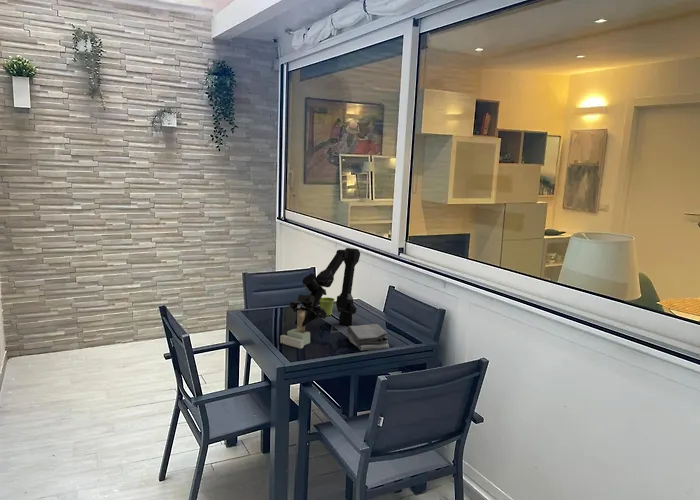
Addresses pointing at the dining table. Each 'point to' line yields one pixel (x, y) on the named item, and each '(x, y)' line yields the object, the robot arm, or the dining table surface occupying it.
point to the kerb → (291, 341)
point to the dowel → (300, 321)
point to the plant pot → (327, 305)
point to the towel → (368, 337)
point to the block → (300, 335)
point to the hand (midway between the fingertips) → (299, 325)
